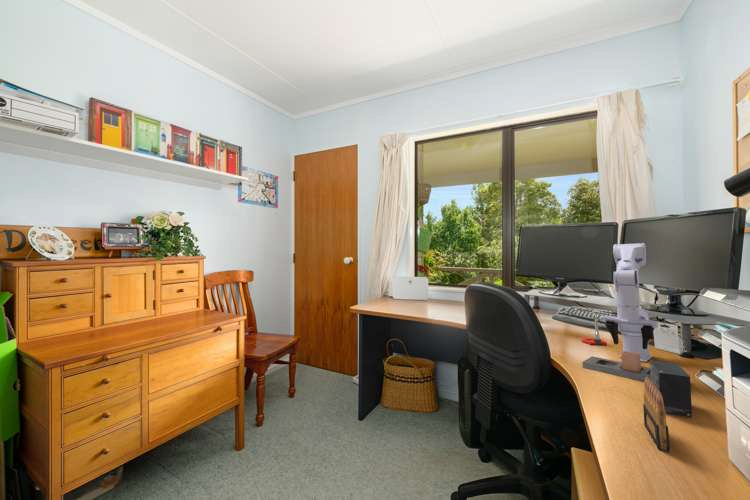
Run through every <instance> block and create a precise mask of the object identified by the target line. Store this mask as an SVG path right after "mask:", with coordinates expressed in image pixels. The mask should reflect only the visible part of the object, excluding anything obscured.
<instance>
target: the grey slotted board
mask: <svg viewBox="0 0 750 500" xmlns="http://www.w3.org/2000/svg"><path fill="white" fill-rule="evenodd" d="M581 364H582V368H583V369H588V370H591V371H597V372H601V373H605V374H610V375H613V376H619V377H623V378H626V379H633V380H635V381H640V382H643V383H645V378H646V376H648V378H649V379H650V380H651V371H650V367H647V366H644V365H643V366H642V365H641V372H635V371H630V370H626V369H622V361H617V360H612V359H608V358H602V357H598V356H589V358H587V359H584V360H583V361H582V363H581Z"/></svg>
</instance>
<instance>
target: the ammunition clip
mask: <svg viewBox="0 0 750 500" xmlns="http://www.w3.org/2000/svg"><path fill="white" fill-rule="evenodd" d="M643 383H644V384H643V385H644V386H643V387H644V390H643V403H642V404H643V405H642V406H643V410H642V411H643V422H644V424H643V425H644V427H645V429H646V431H647V433H648V432H649V433H648V435H649V436H650V438H651V440H652V439H653V440H652V442H653V443H654V444H656V445H655V447H656V446H657V447H656V448H657V450H658V451H663V452H667V453H668V452H669V453H671V449H670V447H671V446H670V437H669V435H670V434H669V426H668V424H667V413H665V410H664V403H663V398H662V395H661V393H660V391H658V389H657V388H656V387H655V385H654V384H653V383H652V382H651V380H650V379H649V378H648V376H646V378H645V382H643Z"/></svg>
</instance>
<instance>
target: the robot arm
mask: <svg viewBox="0 0 750 500" xmlns="http://www.w3.org/2000/svg"><path fill="white" fill-rule="evenodd" d="M612 248H613V249H612V253H613V258H614V262H615V264H616V271H613V284H614V290H615V292H616V307H617V308H616V309H617V316H615V315H612V316H611V315H602V318H601V320H602V322H603V323H605V327H606V328H607V330H608V332H609V333H610V335H611V339H612V340H613V341H612V342H613V345H618V344H619V343H620V342H619V341H620V340H619V333H621V336H622V339H621V340H622V353H623V352H624V351H629V352H634V353H640V362H644V363H646V362H649V361H650V360H651V359H652V357H653V354H650V347H649V346H650V345H649V340H650V338H651V336H652V334H653V333H654V332H653V330H654V328H658V322H659V321H658V320H652V319H650V314H649V313H648V312H646V311H645V310H643V309H641V308H640V305H641V304H640V288H639V287H640V275H639V272H640V268H642V267H644V266H646V263H647V250H646V249H647V248H646V243H644V242H642V243H641V242H640V243H639V242H638V243H624V244H623V243H619V244H617V243H614V244H613V247H612ZM619 358H622V357H621V354H620V355H619Z"/></svg>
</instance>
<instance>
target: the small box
mask: <svg viewBox="0 0 750 500" xmlns="http://www.w3.org/2000/svg"><path fill="white" fill-rule="evenodd" d="M649 368H650V371H651V382H652V383H653V384H654V385H655V387H656V388H657V389H658V391H660V393H661V395H662V398H663V403H664V410H665V413H666V415H667V414H668V415H673V416H678V417H684V418H690V419H693V409H692V408H693V407H692V387H691V385H692V384H691V375H690V374H689V373H687V372H686V371H685V369H683V367H682V366H681V365H680V364H679V363H673V362H666V361H665V362H664V361H658V360H651V359H649Z"/></svg>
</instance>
